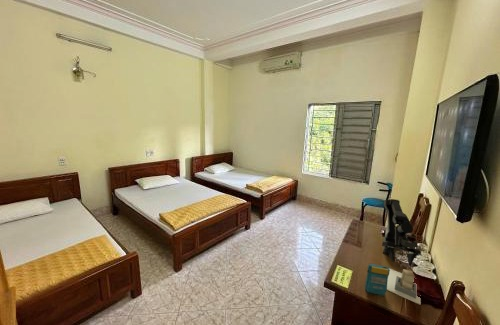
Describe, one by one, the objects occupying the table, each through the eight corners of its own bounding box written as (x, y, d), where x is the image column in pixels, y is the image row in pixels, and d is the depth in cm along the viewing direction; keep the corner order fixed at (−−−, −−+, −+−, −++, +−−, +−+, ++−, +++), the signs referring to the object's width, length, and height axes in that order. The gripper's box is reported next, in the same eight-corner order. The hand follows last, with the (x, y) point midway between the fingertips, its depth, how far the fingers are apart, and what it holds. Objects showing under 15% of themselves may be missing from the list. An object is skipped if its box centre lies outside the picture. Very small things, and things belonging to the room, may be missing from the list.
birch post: (399, 284, 116) (403, 269, 114) (408, 286, 114) (411, 271, 112) (402, 290, 112) (405, 274, 110) (410, 292, 111) (414, 276, 109)
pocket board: (389, 269, 128) (389, 264, 128) (420, 281, 119) (421, 276, 119) (385, 289, 113) (386, 284, 112) (420, 304, 104) (421, 299, 103)
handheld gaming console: (383, 291, 112) (388, 266, 108) (386, 297, 108) (391, 272, 105) (363, 287, 114) (368, 263, 111) (365, 293, 110) (370, 268, 107)
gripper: (392, 230, 119) (392, 259, 113) (427, 239, 117) (429, 269, 111) (381, 232, 129) (381, 258, 123) (413, 240, 127) (414, 268, 121)
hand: (401, 263), depth 120 cm, fingers open, 9 cm apart
